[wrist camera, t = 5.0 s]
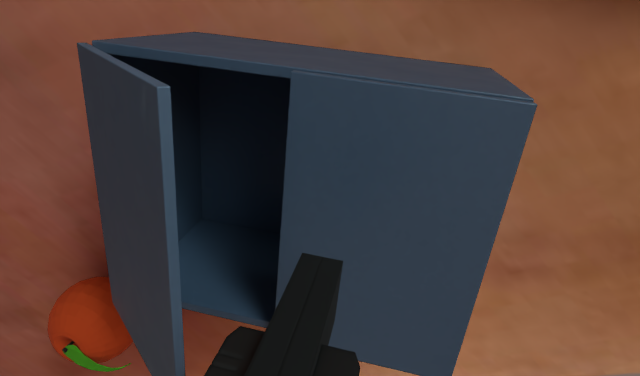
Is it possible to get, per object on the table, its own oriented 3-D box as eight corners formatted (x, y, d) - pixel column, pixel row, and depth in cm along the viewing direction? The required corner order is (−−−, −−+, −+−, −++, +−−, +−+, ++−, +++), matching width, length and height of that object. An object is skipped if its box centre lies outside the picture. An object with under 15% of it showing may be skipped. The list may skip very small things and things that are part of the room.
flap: (119, 300, 23) (112, 302, 23) (87, 42, 18) (76, 42, 17) (187, 421, 17) (178, 426, 17) (171, 86, 12) (156, 86, 11)
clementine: (182, 308, 37) (132, 371, 30) (142, 343, 39) (89, 407, 33) (113, 246, 35) (46, 298, 29) (77, 287, 38) (9, 342, 32)
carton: (199, 220, 32) (113, 303, 23) (194, 31, 27) (77, 41, 17) (439, 268, 30) (451, 384, 20) (491, 68, 24) (540, 103, 15)
